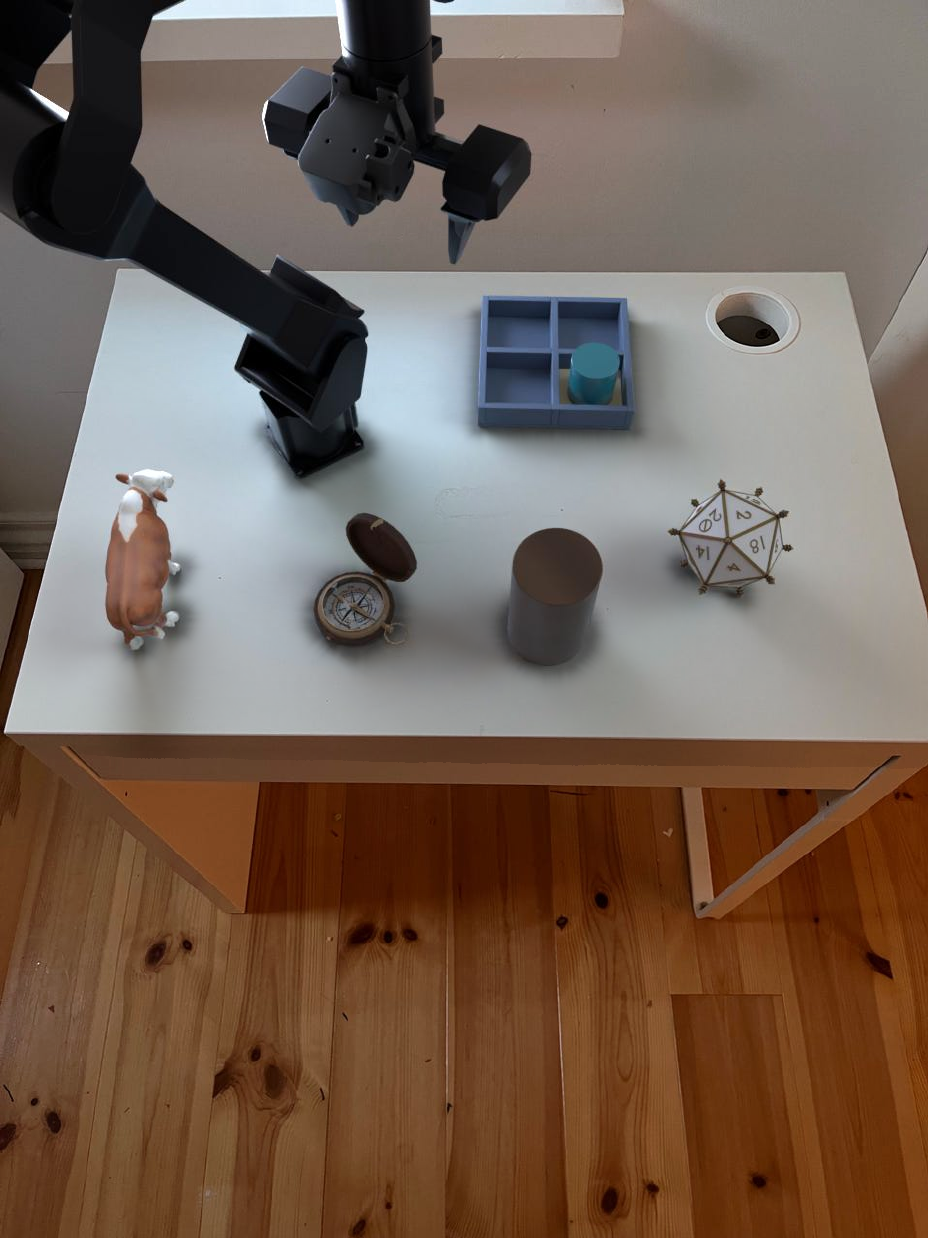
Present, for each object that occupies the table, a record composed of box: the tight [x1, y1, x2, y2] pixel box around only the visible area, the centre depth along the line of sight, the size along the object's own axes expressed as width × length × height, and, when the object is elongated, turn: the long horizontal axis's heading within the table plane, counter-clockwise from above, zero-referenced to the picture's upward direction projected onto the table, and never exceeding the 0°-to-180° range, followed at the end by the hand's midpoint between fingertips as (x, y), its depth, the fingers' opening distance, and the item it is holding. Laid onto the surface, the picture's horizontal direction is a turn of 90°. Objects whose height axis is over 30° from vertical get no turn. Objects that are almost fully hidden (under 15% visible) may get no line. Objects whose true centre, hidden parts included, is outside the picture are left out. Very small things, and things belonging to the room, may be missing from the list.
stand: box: [507, 527, 604, 666], centre depth 64 cm, size 6×6×10 cm
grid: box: [477, 295, 635, 430], centre depth 78 cm, size 13×13×2 cm
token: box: [567, 342, 620, 405], centre depth 76 cm, size 4×4×4 cm
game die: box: [667, 478, 795, 598], centre depth 67 cm, size 9×8×10 cm
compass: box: [313, 512, 418, 647], centre depth 65 cm, size 8×8×7 cm
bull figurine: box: [104, 469, 182, 651], centre depth 66 cm, size 4×13×8 cm, turn 179°
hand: (403, 241), depth 70 cm, fingers open, 9 cm apart
